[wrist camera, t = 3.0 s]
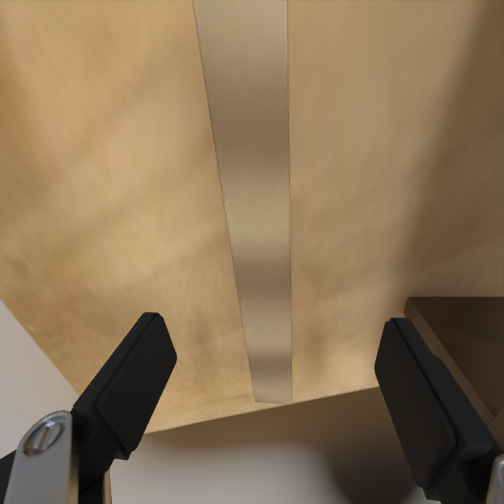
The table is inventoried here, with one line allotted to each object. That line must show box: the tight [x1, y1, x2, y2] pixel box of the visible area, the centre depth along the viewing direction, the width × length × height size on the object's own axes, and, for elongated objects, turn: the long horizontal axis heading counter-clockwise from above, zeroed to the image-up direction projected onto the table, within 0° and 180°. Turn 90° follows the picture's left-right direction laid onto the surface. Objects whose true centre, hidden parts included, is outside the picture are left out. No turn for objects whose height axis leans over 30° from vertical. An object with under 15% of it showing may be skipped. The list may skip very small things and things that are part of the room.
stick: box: [192, 0, 292, 404], centre depth 14 cm, size 24×3×4 cm, turn 5°
